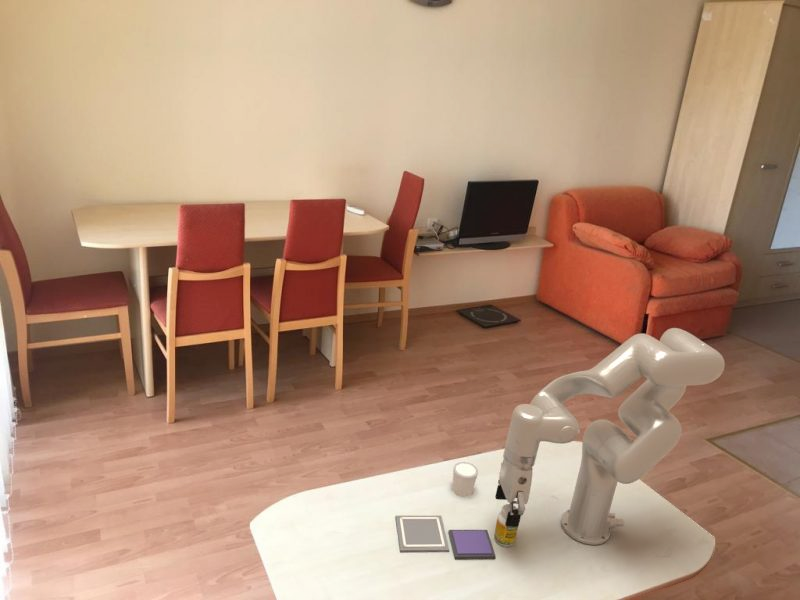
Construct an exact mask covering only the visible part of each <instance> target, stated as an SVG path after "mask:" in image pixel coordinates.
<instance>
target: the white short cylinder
mask: <svg viewBox="0 0 800 600" xmlns="http://www.w3.org/2000/svg"><path fill="white" fill-rule="evenodd" d="M452 472H453V473H452V475H453V476H452V491H453V493H454V494H455V495H457V496H460V497H469V496H471V495H472V494H473V492H474V488H475V485H476V481H477V478H478V474H479V470H478V467H477V466H476V465H474V464H472V463H470V462H466V461H462V462H460V461H459V462H457V463H455V464H454V465H453V471H452Z"/></svg>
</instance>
